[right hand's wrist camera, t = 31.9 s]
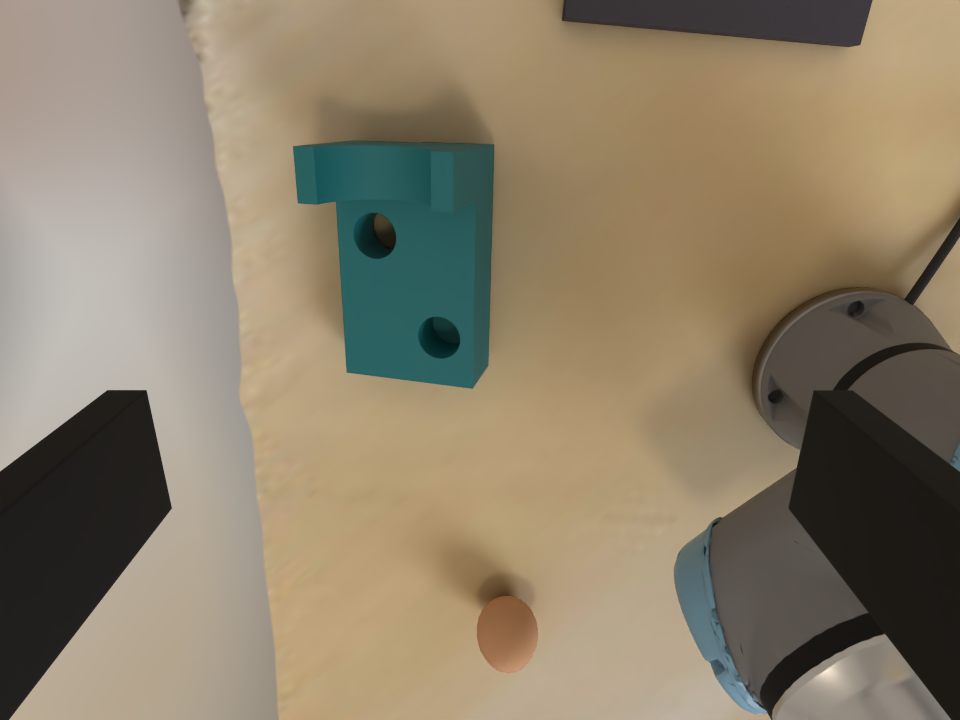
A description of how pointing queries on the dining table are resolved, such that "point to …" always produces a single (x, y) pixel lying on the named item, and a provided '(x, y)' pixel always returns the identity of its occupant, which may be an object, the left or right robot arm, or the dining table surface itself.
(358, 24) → the dining table surface
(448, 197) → the teal l-shaped bracket
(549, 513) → the dining table surface
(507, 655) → the egg
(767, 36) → the notebook
